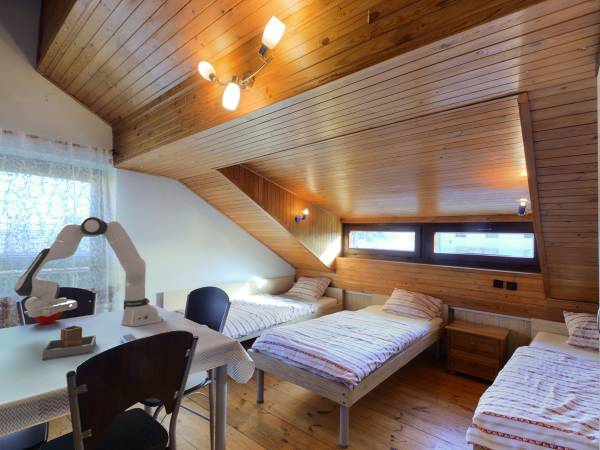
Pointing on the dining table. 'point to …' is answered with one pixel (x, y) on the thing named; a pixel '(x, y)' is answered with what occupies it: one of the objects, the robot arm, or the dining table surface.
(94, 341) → the grey crate
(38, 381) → the dining table surface
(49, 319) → the ceramic cup
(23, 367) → the dining table surface
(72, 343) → the walnut crate
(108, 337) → the dining table surface
